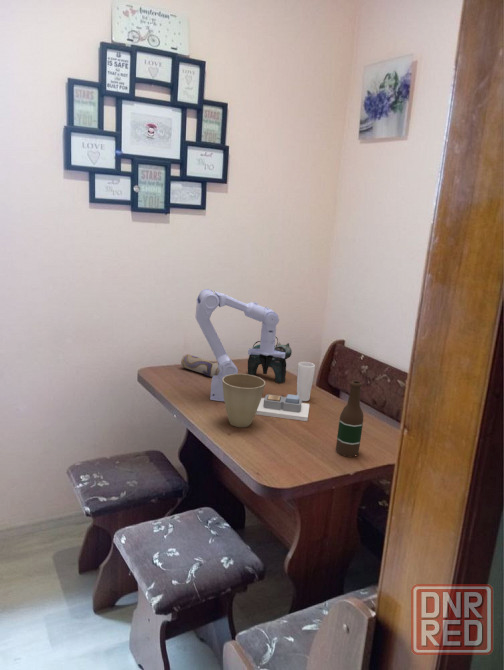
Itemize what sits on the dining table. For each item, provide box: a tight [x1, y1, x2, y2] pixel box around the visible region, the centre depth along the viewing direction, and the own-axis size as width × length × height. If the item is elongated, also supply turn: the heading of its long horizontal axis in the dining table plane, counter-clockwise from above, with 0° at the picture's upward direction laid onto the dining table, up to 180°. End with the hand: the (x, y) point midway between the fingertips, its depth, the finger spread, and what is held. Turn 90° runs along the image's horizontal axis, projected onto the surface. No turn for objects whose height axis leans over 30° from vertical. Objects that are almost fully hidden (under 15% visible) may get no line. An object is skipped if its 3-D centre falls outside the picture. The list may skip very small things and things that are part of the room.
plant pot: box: [222, 373, 266, 428], centre depth 188 cm, size 15×15×16 cm
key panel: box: [255, 394, 310, 422], centre depth 204 cm, size 20×14×4 cm
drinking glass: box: [296, 361, 316, 402], centre depth 216 cm, size 7×7×15 cm
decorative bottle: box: [180, 353, 220, 378], centre depth 238 cm, size 26×8×7 cm, turn 56°
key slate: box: [286, 393, 299, 404], centre depth 203 cm, size 4×4×2 cm
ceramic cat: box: [247, 336, 293, 385], centre depth 237 cm, size 20×6×20 cm, turn 58°
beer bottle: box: [335, 380, 364, 457], centre depth 171 cm, size 8×8×24 cm
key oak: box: [268, 394, 281, 402], centre depth 204 cm, size 4×4×2 cm
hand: (265, 373), depth 214 cm, fingers closed
